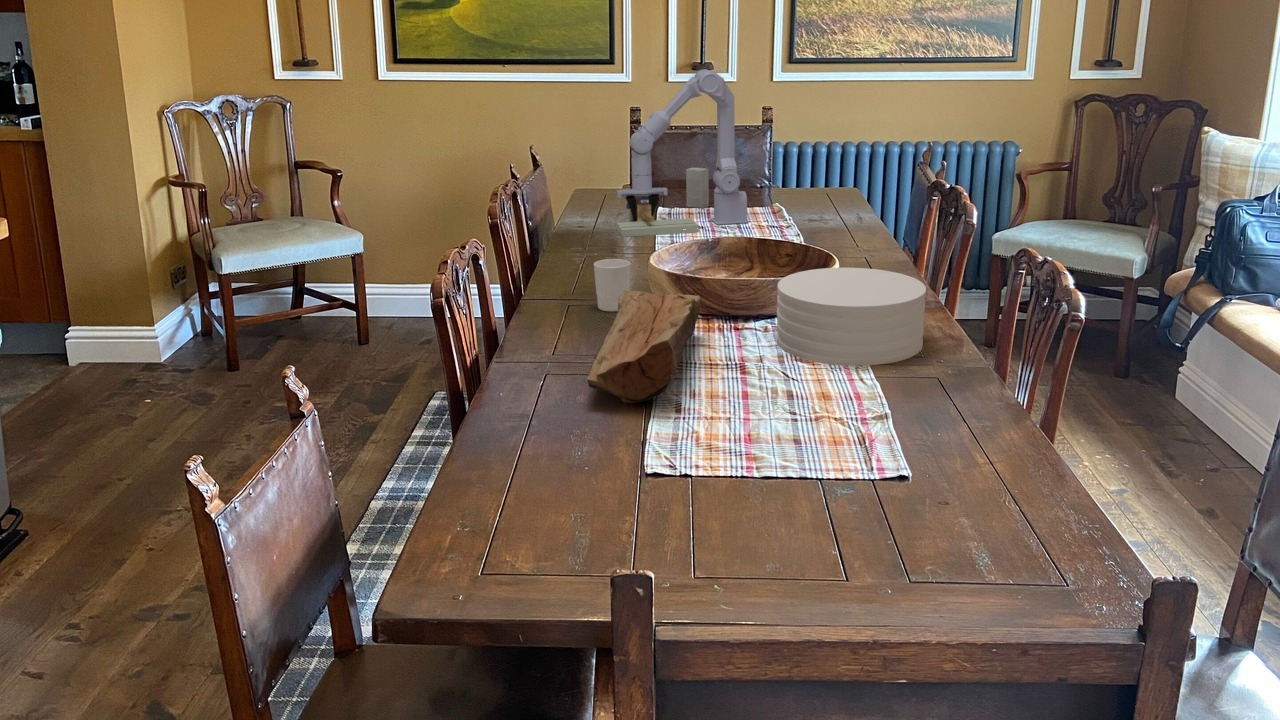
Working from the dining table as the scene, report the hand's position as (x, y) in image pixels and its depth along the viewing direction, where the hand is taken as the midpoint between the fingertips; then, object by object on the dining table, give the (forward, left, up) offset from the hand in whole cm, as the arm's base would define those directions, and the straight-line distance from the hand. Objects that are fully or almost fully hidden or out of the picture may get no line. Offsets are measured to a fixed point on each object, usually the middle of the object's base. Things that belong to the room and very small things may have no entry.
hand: (642, 220), depth 315 cm
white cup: (+21, +81, -2) cm, 84 cm away
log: (+21, +122, -2) cm, 124 cm away
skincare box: (-22, -24, -2) cm, 33 cm away
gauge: (0, +4, -2) cm, 5 cm away
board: (-3, +7, -2) cm, 8 cm away
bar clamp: (-3, -20, -2) cm, 20 cm away
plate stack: (-20, +116, -2) cm, 118 cm away
